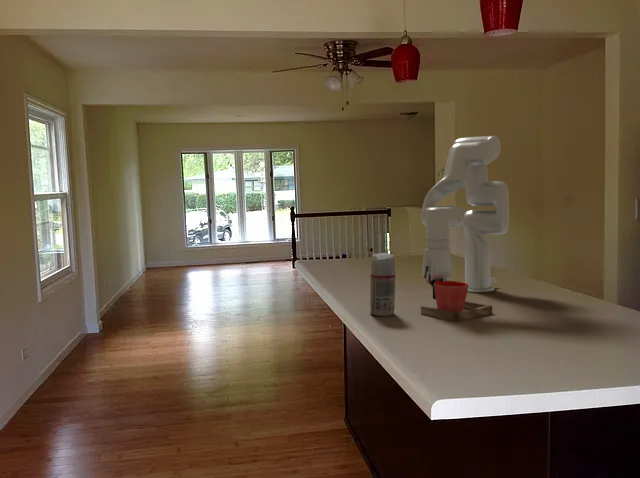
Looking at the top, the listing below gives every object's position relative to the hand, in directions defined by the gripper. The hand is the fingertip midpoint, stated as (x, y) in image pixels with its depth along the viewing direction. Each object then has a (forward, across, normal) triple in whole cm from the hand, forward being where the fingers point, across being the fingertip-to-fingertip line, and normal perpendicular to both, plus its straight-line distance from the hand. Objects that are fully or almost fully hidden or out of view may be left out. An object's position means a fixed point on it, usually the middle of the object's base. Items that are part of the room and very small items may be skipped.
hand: (437, 299), depth 193 cm
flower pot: (+4, +1, +6) cm, 7 cm away
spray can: (+4, +18, -8) cm, 20 cm away
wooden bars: (+4, 0, +8) cm, 8 cm away
